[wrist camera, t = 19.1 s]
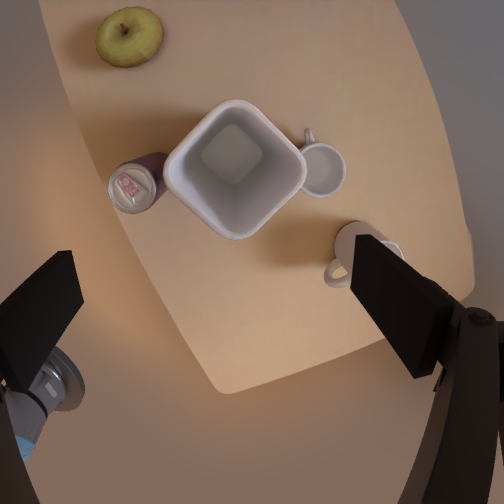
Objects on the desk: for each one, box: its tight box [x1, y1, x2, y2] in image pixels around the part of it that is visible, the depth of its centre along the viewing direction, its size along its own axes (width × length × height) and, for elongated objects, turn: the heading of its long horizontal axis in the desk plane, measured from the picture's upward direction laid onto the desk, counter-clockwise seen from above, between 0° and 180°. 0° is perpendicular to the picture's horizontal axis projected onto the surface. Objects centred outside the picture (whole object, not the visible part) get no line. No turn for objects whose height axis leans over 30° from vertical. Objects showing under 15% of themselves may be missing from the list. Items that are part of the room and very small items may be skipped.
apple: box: [96, 7, 164, 68], centre depth 35 cm, size 10×10×8 cm
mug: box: [324, 222, 404, 288], centre depth 49 cm, size 12×8×10 cm
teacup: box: [299, 128, 346, 198], centre depth 45 cm, size 10×8×5 cm
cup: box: [163, 99, 307, 240], centre depth 26 cm, size 7×7×15 cm
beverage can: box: [108, 152, 169, 214], centre depth 39 cm, size 6×6×15 cm
